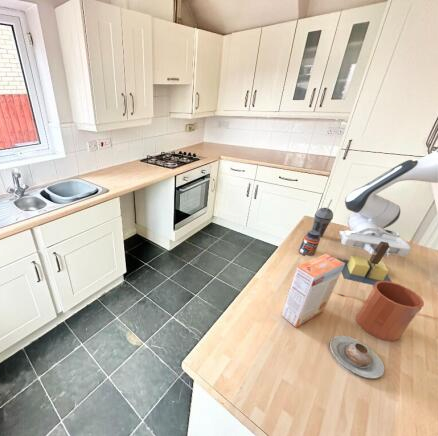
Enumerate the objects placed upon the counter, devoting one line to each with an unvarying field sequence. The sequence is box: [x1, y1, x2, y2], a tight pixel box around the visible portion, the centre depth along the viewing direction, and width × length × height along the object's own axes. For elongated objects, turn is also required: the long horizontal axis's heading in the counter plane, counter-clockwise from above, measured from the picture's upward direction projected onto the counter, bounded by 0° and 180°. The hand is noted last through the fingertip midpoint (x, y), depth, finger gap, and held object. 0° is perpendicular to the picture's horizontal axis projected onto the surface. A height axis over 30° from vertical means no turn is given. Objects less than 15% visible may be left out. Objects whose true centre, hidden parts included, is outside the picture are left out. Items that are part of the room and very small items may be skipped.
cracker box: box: [280, 253, 345, 328], centre depth 76 cm, size 14×6×21 cm, turn 115°
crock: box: [355, 281, 425, 342], centre depth 73 cm, size 10×10×14 cm
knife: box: [366, 241, 390, 278], centre depth 90 cm, size 2×5×15 cm, turn 156°
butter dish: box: [336, 257, 393, 286], centre depth 96 cm, size 16×14×1 cm
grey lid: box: [329, 335, 385, 379], centre depth 66 cm, size 12×12×5 cm
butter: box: [347, 255, 389, 281], centre depth 95 cm, size 10×6×5 cm, turn 66°
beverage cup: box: [311, 199, 334, 238], centre depth 116 cm, size 7×7×20 cm
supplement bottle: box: [298, 229, 321, 257], centre depth 106 cm, size 6×6×11 cm
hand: (380, 254), depth 88 cm, fingers closed on knife, 2 cm apart
